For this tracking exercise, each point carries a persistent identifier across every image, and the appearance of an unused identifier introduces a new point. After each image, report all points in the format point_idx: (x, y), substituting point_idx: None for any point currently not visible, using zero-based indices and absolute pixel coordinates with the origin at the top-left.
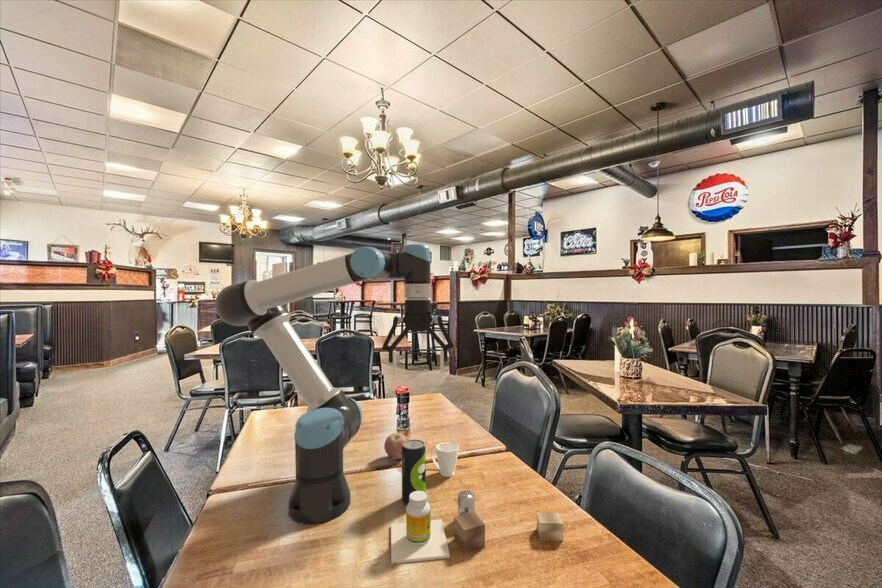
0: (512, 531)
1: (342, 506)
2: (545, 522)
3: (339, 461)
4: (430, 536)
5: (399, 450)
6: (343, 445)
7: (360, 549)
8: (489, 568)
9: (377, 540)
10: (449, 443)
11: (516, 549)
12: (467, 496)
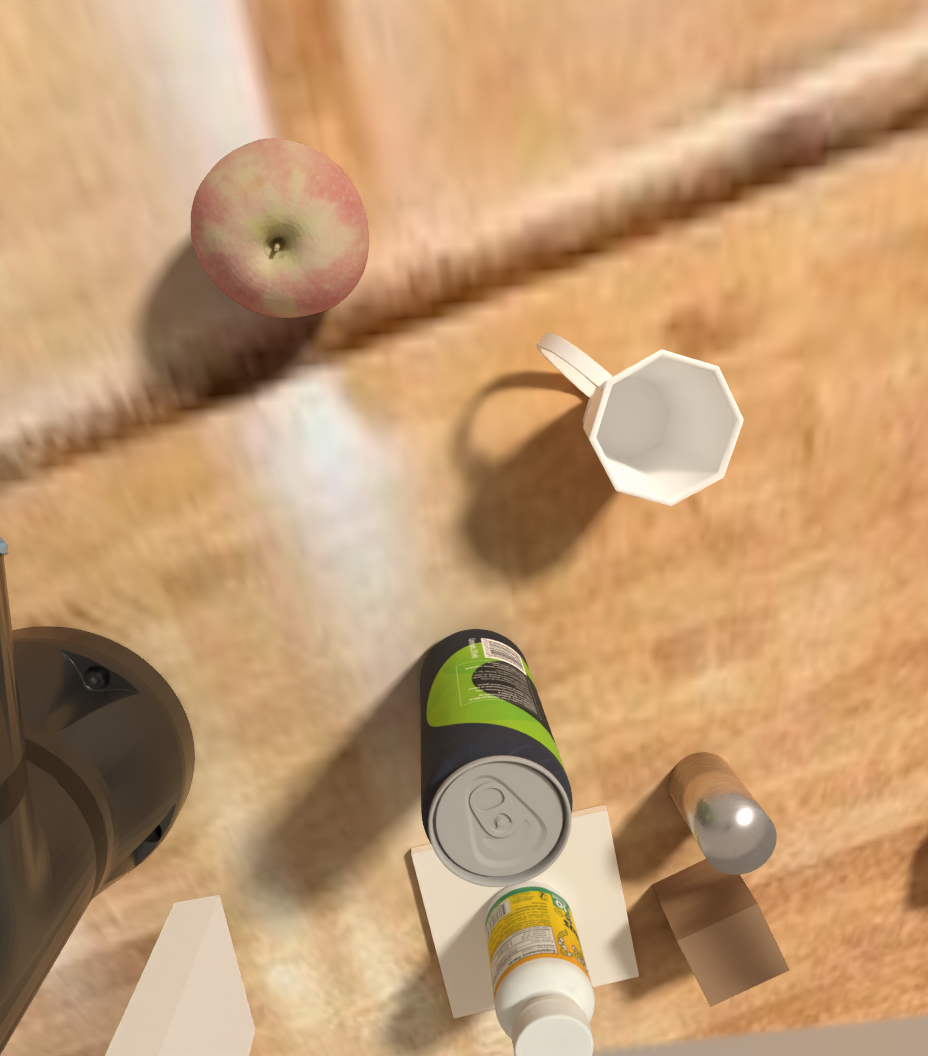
0: (863, 830)
1: (178, 813)
2: None
3: (75, 914)
4: (569, 902)
5: (321, 311)
6: (39, 900)
7: (333, 964)
8: (756, 994)
9: (379, 920)
10: (680, 361)
11: (855, 912)
12: (744, 851)
